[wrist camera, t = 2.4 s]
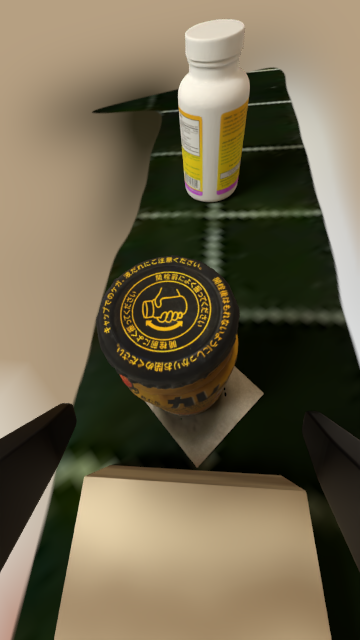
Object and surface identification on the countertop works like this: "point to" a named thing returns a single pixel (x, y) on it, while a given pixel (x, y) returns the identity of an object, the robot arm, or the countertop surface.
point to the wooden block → (192, 559)
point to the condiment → (178, 348)
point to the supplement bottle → (213, 109)
